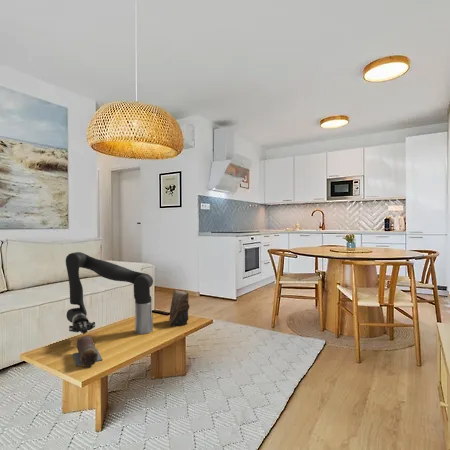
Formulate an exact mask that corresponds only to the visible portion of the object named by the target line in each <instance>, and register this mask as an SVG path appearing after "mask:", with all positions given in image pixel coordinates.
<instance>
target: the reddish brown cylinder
mask: <svg viewBox="0 0 450 450" xmlns="http://www.w3.org/2000/svg"><path fill="white" fill-rule="evenodd" d="M76 348H77V353H79V356H80V361H81V363H82V364H83V365H82V366H85V367H90V366H91V367H92V366H93V365H95V364H96V363H97V362H96V361H97V359H98V353H97V351H96V349H97V348H96V346H95V343H94V340H93V338H92V336H90V335H83V336H81V337H80V338H78V340H77V342H76Z"/></svg>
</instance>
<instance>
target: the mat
mask: <svg viewBox="0 0 450 450" xmlns="http://www.w3.org/2000/svg"><path fill="white" fill-rule="evenodd" d="M96 351H97V353H98V359H97V361H96V363H97V362H102V361H103V358H102V355H101V354H100V352H99V350H98V348H96ZM72 357H73V360H74V361H73V362H74V364H75V367H80V366H84V365H83V364H82V363H81V361H80V356H79V353H78V352H73V353H72Z"/></svg>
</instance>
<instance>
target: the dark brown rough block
mask: <svg viewBox="0 0 450 450" xmlns="http://www.w3.org/2000/svg"><path fill="white" fill-rule="evenodd" d="M189 295H190V294H189V292H187V291H186V290H184V291H182V290H181V291H180V290H177V289H173V294H172V298H171V303H170V310H169V318H168V319H169V320H168V321H169V325H168V326H169V327H179V326H180V327H181V326H187V325H188V321H189V310H190V304H189Z"/></svg>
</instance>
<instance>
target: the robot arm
mask: <svg viewBox="0 0 450 450" xmlns="http://www.w3.org/2000/svg"><path fill="white" fill-rule="evenodd" d="M65 267H66V271H67V277H68V285H69V286H68V287H69V303H70V304H71V305H77V306H79V307H73V308H70V309H68V310H67V311H66V315H65V316H66V319H67V320H68V321H69V322H70V323H71V324H72V325H69V326H68V331H69V332H72V333H81V334H83V335H84V334H87V333H88V331H92V329H94V328H96V322H95V321H92V322H91V321H89V319H88V317H87V315H88V314H87V309H86V306H85V304H84V288H83V285H82V282H81V278H80V268H81V269H87V270H90V271H93V272H94V273H96V274H97V275H98V276H100V277H101V278H104V279H107V280H111V281H115V282H124V283H130V284H133V297H134V303H135V304H134V308H135V309H134V315H135V318H134V319H135V321H134V323H135V326H134V327H135V329H134V332H135V334H138V335H146V334H149V333H151V332H154V331H153V330H154V327H153V326H154V319H153V318H154V316H153V314H152V312H153V311H152V310H153V309H152V307H153V306H152V303H153V301H152V296H151V294H150V293H151V289H150V288H151V287H152V285H153V284H154V279H153V277H152V276H151V275H150V274H149V273H144V272H140V271H136V270H132V269H130V268H127V267H125V266H121V265H118V264H116V263H113V262H109V261H106V260H103V259H98V258H95V257H92V256H90V255H88V254H86V253H84V252H80V251H79V252H78V251H77V252H71V253H69V254H68V255H67V256H66V257H65Z"/></svg>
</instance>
